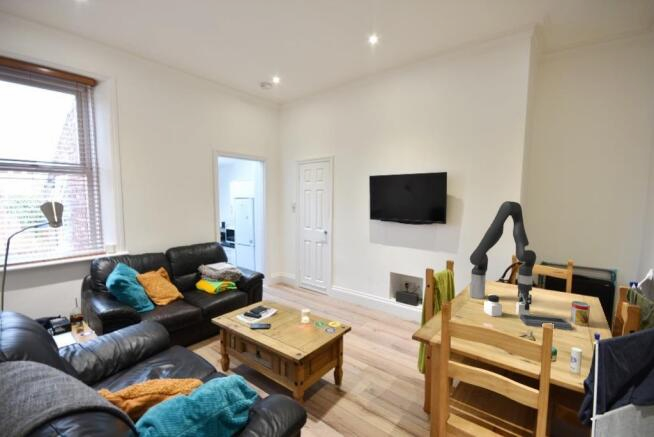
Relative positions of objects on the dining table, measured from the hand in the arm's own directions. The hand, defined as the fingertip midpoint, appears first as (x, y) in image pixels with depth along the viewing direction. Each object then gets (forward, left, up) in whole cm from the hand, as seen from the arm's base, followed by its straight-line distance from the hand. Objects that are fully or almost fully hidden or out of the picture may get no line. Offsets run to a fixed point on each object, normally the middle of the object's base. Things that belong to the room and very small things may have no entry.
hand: (523, 307), depth 181 cm
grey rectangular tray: (+6, -12, -5) cm, 14 cm away
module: (-1, 0, -5) cm, 5 cm away
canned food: (+26, -6, -5) cm, 27 cm away
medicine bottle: (-19, -4, -5) cm, 20 cm away
